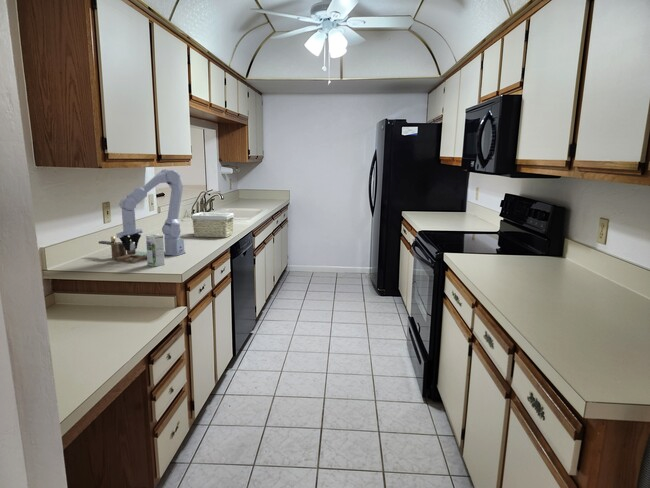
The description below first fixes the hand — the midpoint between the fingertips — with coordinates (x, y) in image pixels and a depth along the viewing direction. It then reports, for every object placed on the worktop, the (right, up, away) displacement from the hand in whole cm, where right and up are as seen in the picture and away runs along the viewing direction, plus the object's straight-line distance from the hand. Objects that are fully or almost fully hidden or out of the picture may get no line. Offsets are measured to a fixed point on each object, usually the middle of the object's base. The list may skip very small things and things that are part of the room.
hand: (131, 249), depth 207 cm
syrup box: (+16, -7, -8) cm, 19 cm away
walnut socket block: (-2, -5, +2) cm, 5 cm away
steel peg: (0, -2, 0) cm, 2 cm away
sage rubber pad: (-1, -3, +12) cm, 12 cm away
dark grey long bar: (-12, +3, +4) cm, 13 cm away
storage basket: (+23, +8, +69) cm, 73 cm away
